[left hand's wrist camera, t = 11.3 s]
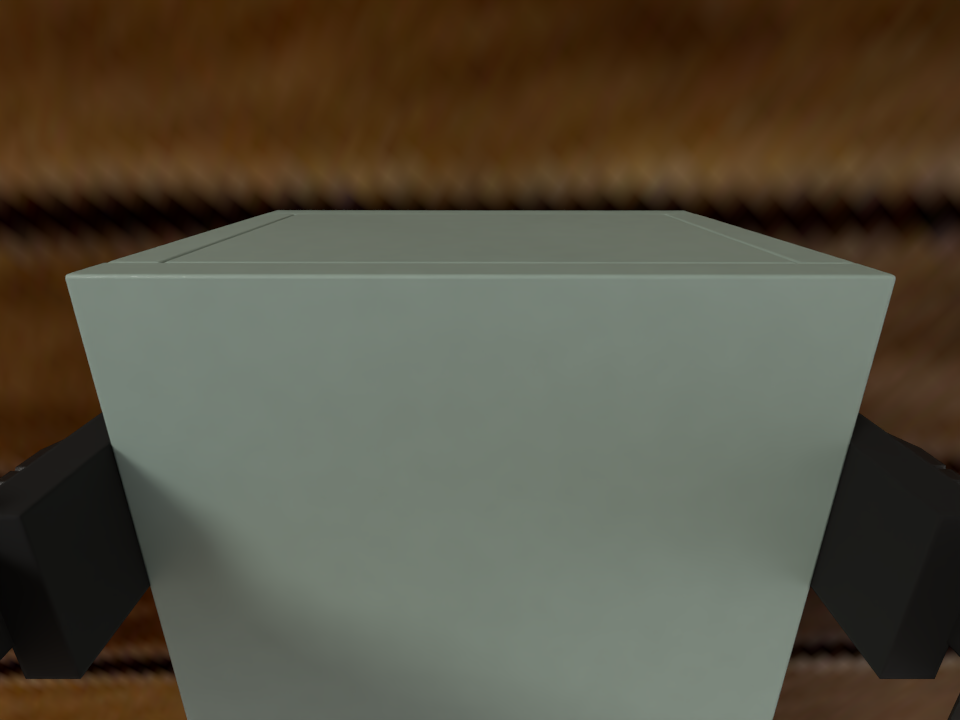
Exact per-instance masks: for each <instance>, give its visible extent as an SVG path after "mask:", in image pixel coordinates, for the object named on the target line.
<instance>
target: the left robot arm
mask: <svg viewBox="0 0 960 720" xmlns="http://www.w3.org/2000/svg"><path fill="white" fill-rule="evenodd" d="M149 586H150V582H149V579H148V575H147V571H146V568H145V564H144V560H143V557H142V553H141V550H140V546H139V542H138V539H137V535H136V532H135V528H134V524H133V521H132V517H131V514H130V510H129V506H128V503H127V499H126V495H125V492H124V488H123V485H122V481H121V477H120V474H119V470H118V467H117V463H116V459H115V456H114V452H113V449H112V445H111V441H110V438H109V434H108V430H107V427H106V423H105V420H104V416H103V412H102V413H101V414H99V415H98V416H96V417H95V418H94V419H92V420H91V421H89V422H88V423H87V424H85V425H84V426H82V427H81V428H80V429H78V430H77V431H75V432H74V433H73V434H71V435H70V436H68V437H67V438H66V439H64V440H62V441H59V442H57V443H55V444H53V445H51V446H48V447H46V448H44V449H42V450H40V451H39V452H37V453H36V454H34V455H33V456H31V457H30V458H29V459H27V460H26V461H24V462H23V463H21V464H20V465H19V466H17V467H16V470H15V471H10V472H8V473H7V474H6V475H4V476H3V477H1V478H0V660H1V659H2V658H3V657H4V656H5V655H6V654H7V652H8V651H9V650H10V649H11V648H13V650H14V652H15V655H16V657H17V659H18V662H19V664H20V666H21V669H22V671H23V673H24V676H25V678H26V679H81V677H82V676H83V675H84V673H85V672H86V671H87V669H88V668H89V667H90V665H91V664H92V663H93V661H94V660H95V659H96V657H97V656H98V655H99V653H100V652H101V651H102V649H103V648H104V647H105V645H106V644H107V643H108V641H109V640H110V639H111V637H112V636H113V635H114V633H115V632H116V630H117V629H118V628H119V626H120V625H121V624H122V622H123V621H124V620H125V618H126V617H127V616H128V614H129V613H130V612H131V610H132V609H133V608H134V606H135V605H136V604H137V602H138V601H139V600H140V598H141V597H142V596H143V594H144V593H145V592H146V590H147V589H148V588H149ZM810 586H811V587H812V588H813V590H814V591H815V592H816V594H817V595H818V597H819V598H820V599H821V601H822V602H823V603H824V605H825V606H826V607H827V609H828V610H829V611H830V613H831V614H832V615H833V617H834V618H835V619H836V621H837V622H838V623H839V625H840V626H841V627H842V629H843V630H844V631H845V633H846V634H847V635H848V637H849V638H850V639H851V641H852V642H853V643H854V645H855V646H856V648H857V649H858V650H859V652H860V653H861V654H862V656H863V657H864V658H865V660H866V661H867V662H868V664H869V665H870V666H871V668H872V669H873V670H874V672H875V673H876V674H877V676H878V677H879V678H880V679H935V677H936V674H937V672H938V670H939V667H940V665H941V663H942V660H943V658H944V656H945V653H946V651H947V649H948V646H950V647H951V648H952V649H953V650H954V651H955V652H956V653H957V654H958V655H959V656H960V475H959V474H957V473H956V472H954V471H953V470H951V469H946V465H944V464H943V463H941V462H940V461H938V460H937V459H936V458H934V457H933V456H931V455H930V454H928V453H927V452H926V451H924V450H923V449H921V448H919V447H917V446H915V445H913V444H910V443H908V442H906V441H904V440H902V439H899V438H897V437H895V436H893V435H891V434H888V433H886V432H885V431H884V430H882V429H881V428H879V427H878V426H877V425H875V424H874V423H872V422H871V421H870V420H868V419H867V418H865V417H864V416H863V415H861V414H860V413H858V416H857V419H856V423H855V426H854V430H853V434H852V437H851V441H850V444H849V448H848V451H847V455H846V459H845V462H844V466H843V469H842V473H841V477H840V480H839V484H838V487H837V491H836V494H835V498H834V502H833V505H832V509H831V512H830V516H829V520H828V523H827V527H826V530H825V534H824V537H823V541H822V545H821V548H820V552H819V555H818V559H817V562H816V566H815V570H814V573H813V577H812V580H811V584H810ZM948 720H960V694H959V696H958V698H957V700H956V702H955V705H954V707H953V709H952V711H951V713H950V716H949V718H948Z"/></svg>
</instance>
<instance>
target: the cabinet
mask: <svg viewBox="0 0 960 720" xmlns="http://www.w3.org/2000/svg"><path fill="white" fill-rule="evenodd" d="M66 282H67V286H68V290H69V293H70V297H71V301H72V304H73V308H74V311H75V315H76V319H77V322H78V326H79V329H80V333H81V337H82V340H83V344H84V347H85V351H86V355H87V358H88V362H89V366H90V369H91V373H92V376H93V380H94V384H95V387H96V391H97V394H98V398H99V402H100V405H101V409H102V412H103V416H104V420H105V423H106V427H107V430H108V434H109V438H110V441H111V445H112V449H113V452H114V456H115V459H116V463H117V467H118V470H119V474H120V477H121V481H122V485H123V488H124V492H125V495H126V499H127V503H128V506H129V510H130V514H131V517H132V521H133V524H134V528H135V532H136V535H137V539H138V542H139V546H140V550H141V553H142V557H143V560H144V564H145V568H146V571H147V575H148V579H149V582H150V586H151V589H152V593H153V597H154V600H155V604H156V607H157V611H158V615H159V618H160V622H161V625H162V629H163V633H164V636H165V640H166V644H167V647H168V651H169V654H170V658H171V662H172V665H173V669H174V672H175V676H176V680H177V683H178V687H179V690H180V694H181V698H182V701H183V705H184V709H185V712H186V716H187V719H188V720H773V716H774V713H775V709H776V706H777V702H778V699H779V695H780V691H781V688H782V684H783V681H784V677H785V673H786V670H787V666H788V663H789V659H790V656H791V652H792V648H793V645H794V641H795V638H796V634H797V631H798V627H799V623H800V620H801V616H802V613H803V609H804V605H805V602H806V598H807V595H808V591H809V588H810V584H811V580H812V577H813V573H814V570H815V566H816V562H817V559H818V555H819V552H820V548H821V545H822V541H823V537H824V534H825V530H826V527H827V523H828V520H829V516H830V512H831V509H832V505H833V502H834V498H835V494H836V491H837V487H838V484H839V480H840V477H841V473H842V469H843V466H844V462H845V459H846V455H847V451H848V448H849V444H850V441H851V437H852V434H853V430H854V426H855V423H856V419H857V416H858V412H859V409H860V405H861V401H862V398H863V394H864V391H865V387H866V383H867V380H868V376H869V373H870V369H871V366H872V362H873V358H874V355H875V351H876V348H877V344H878V340H879V337H880V333H881V330H882V326H883V323H884V319H885V315H886V312H887V308H888V305H889V301H890V297H891V294H892V290H893V287H894V283H895V276H894V275H892V274H889V273H886V272H882V271H879V270H876V269H873V268H869V267H866V266H863V265H860V264H854V263H853V262H850V261H847V260H844V259H840V258H837V257H834V256H831V255H827V254H824V253H821V252H818V251H814V250H811V249H808V248H805V247H801V246H798V245H795V244H792V243H788V242H785V241H782V240H779V239H775V238H772V237H769V236H766V235H762V234H759V233H756V232H753V231H749V230H746V229H743V228H740V227H736V226H733V225H730V224H727V223H723V222H720V221H717V220H714V219H710V218H707V217H704V216H701V215H697V214H693V213H690V212H686V211H426V210H277V211H273V212H270V213H267V214H263V215H260V216H257V217H253V218H250V219H247V220H244V221H240V222H237V223H234V224H231V225H227V226H224V227H221V228H218V229H214V230H211V231H208V232H204V233H201V234H198V235H195V236H191V237H188V238H185V239H182V240H178V241H175V242H172V243H169V244H165V245H162V246H159V247H156V248H152V249H149V250H146V251H143V252H139V253H136V254H133V255H129V256H126V257H123V258H120V259H116V260H113V261H110V262H108V263H102V264H99V265H96V266H92V267H89V268H86V269H83V270H79V271H76V272H73V273H70V274H68V275H66Z"/></svg>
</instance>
